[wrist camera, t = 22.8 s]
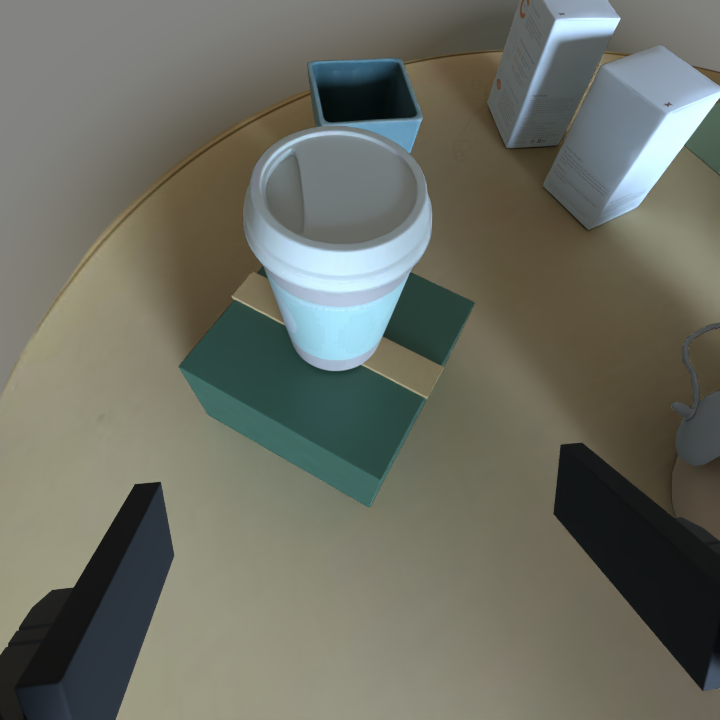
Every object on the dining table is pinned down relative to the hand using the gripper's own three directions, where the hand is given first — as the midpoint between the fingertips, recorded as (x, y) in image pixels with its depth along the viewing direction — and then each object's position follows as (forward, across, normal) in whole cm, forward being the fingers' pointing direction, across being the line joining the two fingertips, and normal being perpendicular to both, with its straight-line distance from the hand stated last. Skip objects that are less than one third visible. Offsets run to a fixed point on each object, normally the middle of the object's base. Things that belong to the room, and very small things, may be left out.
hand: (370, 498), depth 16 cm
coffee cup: (+16, 0, +2) cm, 16 cm away
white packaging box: (+36, +28, +9) cm, 47 cm away
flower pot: (+39, +5, +12) cm, 41 cm away
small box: (+44, +24, +17) cm, 53 cm away
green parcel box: (+22, 0, -4) cm, 22 cm away
